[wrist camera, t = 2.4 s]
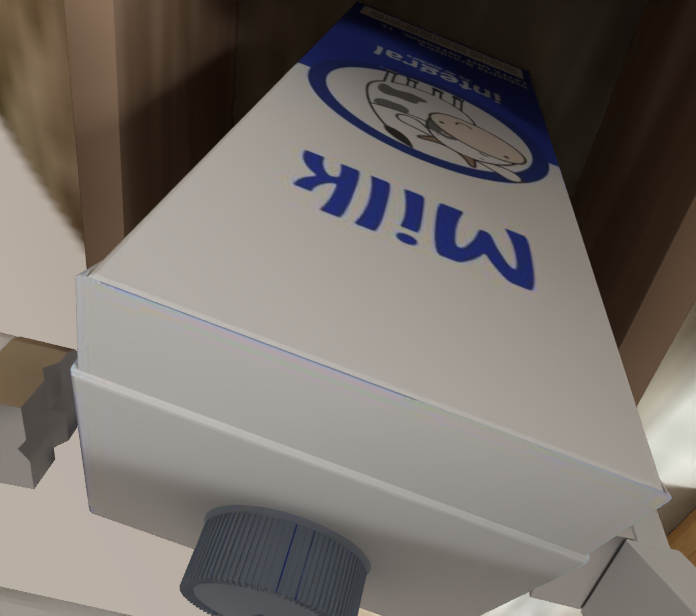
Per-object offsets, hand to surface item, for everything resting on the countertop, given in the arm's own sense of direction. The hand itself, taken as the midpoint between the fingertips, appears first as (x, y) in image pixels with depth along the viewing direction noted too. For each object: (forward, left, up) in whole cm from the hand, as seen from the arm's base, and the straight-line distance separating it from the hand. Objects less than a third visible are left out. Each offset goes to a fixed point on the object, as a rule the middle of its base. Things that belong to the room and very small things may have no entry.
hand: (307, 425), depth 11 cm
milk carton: (0, 0, -17) cm, 17 cm away
